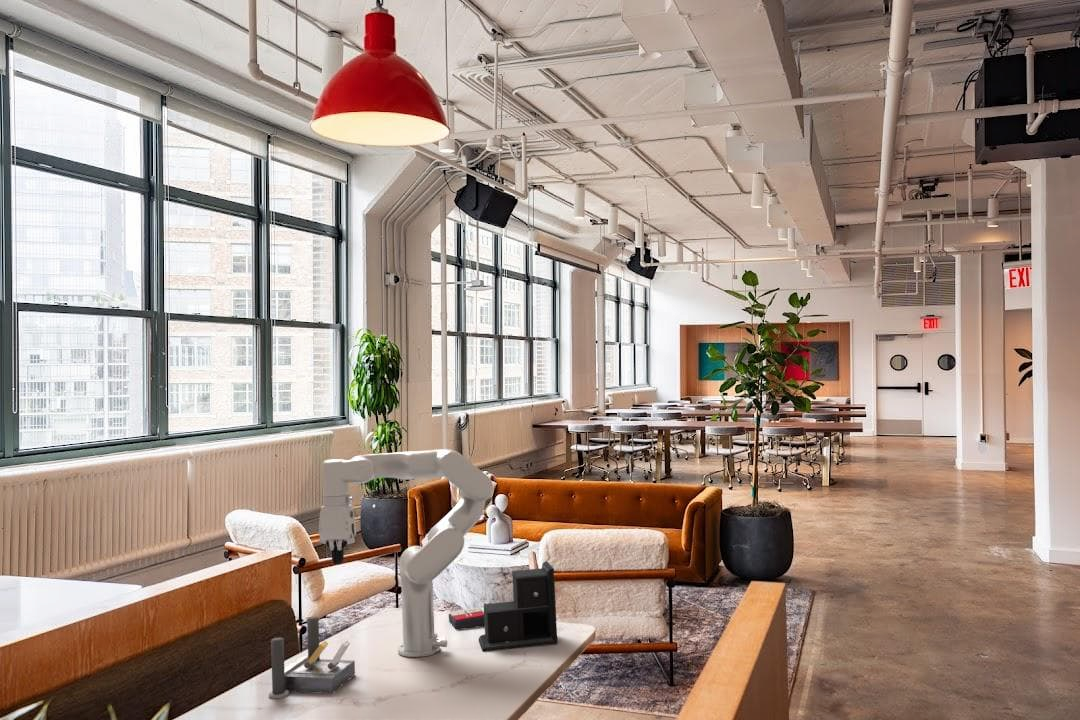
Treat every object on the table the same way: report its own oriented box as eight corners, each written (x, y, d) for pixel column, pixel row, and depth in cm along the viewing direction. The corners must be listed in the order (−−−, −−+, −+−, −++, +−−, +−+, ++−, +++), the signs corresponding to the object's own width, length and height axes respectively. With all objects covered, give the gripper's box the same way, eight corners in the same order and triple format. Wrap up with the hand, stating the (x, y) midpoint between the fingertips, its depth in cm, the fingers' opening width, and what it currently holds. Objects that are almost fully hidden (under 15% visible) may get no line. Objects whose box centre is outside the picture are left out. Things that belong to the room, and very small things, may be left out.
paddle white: (337, 665, 235) (351, 643, 234) (331, 670, 232) (345, 647, 231) (332, 662, 235) (346, 639, 235) (326, 666, 232) (341, 643, 231)
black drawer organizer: (482, 652, 256) (479, 574, 256) (478, 641, 266) (475, 566, 267) (558, 645, 260) (555, 568, 261) (551, 634, 271) (548, 560, 271)
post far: (326, 666, 247) (324, 615, 248) (318, 672, 243) (316, 620, 243) (310, 666, 248) (308, 615, 249) (302, 672, 244) (300, 620, 244)
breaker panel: (354, 674, 240) (354, 657, 240) (332, 693, 226) (332, 675, 226) (302, 672, 243) (302, 655, 243) (277, 690, 229) (277, 672, 229)
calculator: (447, 611, 290) (490, 604, 294) (449, 624, 290) (491, 616, 294) (454, 619, 279) (498, 612, 284) (455, 632, 279) (499, 624, 284)
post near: (292, 692, 228) (290, 636, 228) (282, 699, 223) (281, 642, 223) (275, 691, 229) (273, 636, 229) (265, 698, 224) (263, 642, 224)
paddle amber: (313, 665, 237) (329, 643, 236) (307, 669, 233) (323, 648, 232) (309, 661, 237) (325, 640, 236) (303, 665, 233) (319, 644, 232)
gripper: (364, 499, 254) (366, 560, 254) (318, 499, 257) (320, 560, 257) (354, 503, 247) (356, 566, 247) (306, 503, 250) (308, 565, 250)
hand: (338, 563), depth 252 cm, fingers closed
